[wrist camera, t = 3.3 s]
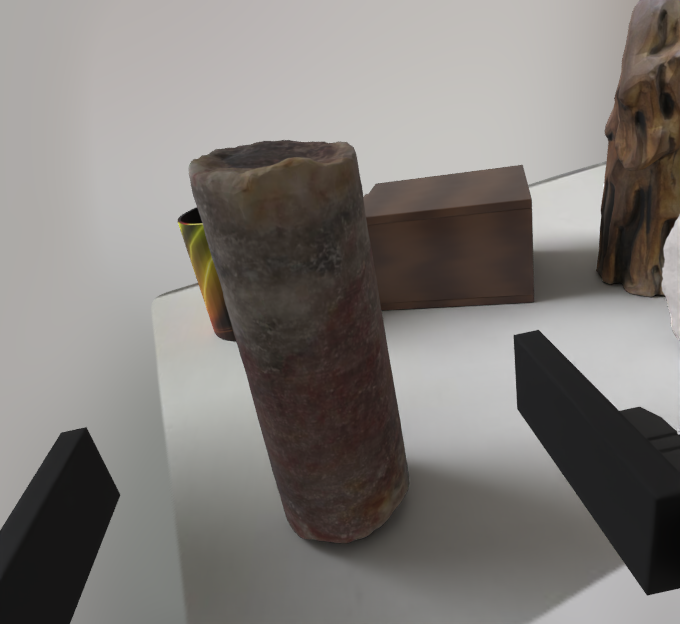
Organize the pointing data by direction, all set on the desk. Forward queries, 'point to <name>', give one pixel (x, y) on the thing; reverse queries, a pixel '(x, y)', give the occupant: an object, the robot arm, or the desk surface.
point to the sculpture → (643, 152)
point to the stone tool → (672, 276)
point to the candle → (308, 328)
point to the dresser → (452, 239)
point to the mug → (206, 273)
